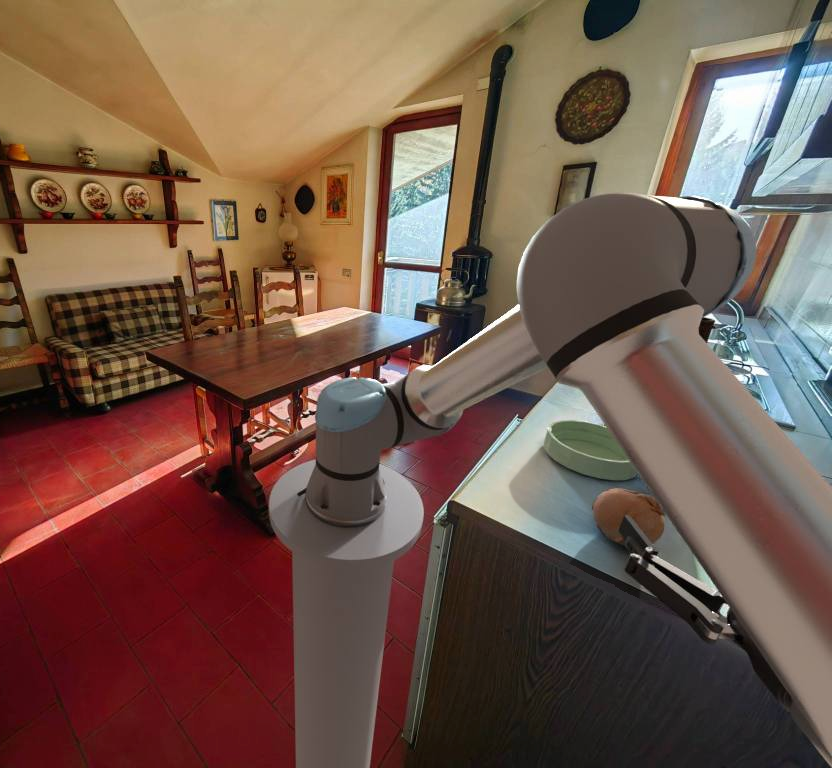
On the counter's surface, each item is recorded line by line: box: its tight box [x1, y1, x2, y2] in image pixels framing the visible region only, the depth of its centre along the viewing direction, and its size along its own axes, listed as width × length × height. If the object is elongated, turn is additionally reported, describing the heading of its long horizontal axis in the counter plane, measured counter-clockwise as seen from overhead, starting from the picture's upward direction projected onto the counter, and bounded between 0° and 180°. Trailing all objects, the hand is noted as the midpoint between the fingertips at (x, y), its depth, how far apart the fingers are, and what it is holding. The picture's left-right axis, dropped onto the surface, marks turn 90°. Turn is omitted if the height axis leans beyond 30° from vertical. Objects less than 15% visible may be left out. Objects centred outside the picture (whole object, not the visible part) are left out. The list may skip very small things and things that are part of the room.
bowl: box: [543, 419, 639, 481], centre depth 88 cm, size 18×18×5 cm
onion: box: [591, 487, 666, 546], centre depth 65 cm, size 10×9×10 cm
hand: (678, 529), depth 54 cm, fingers open, 13 cm apart
